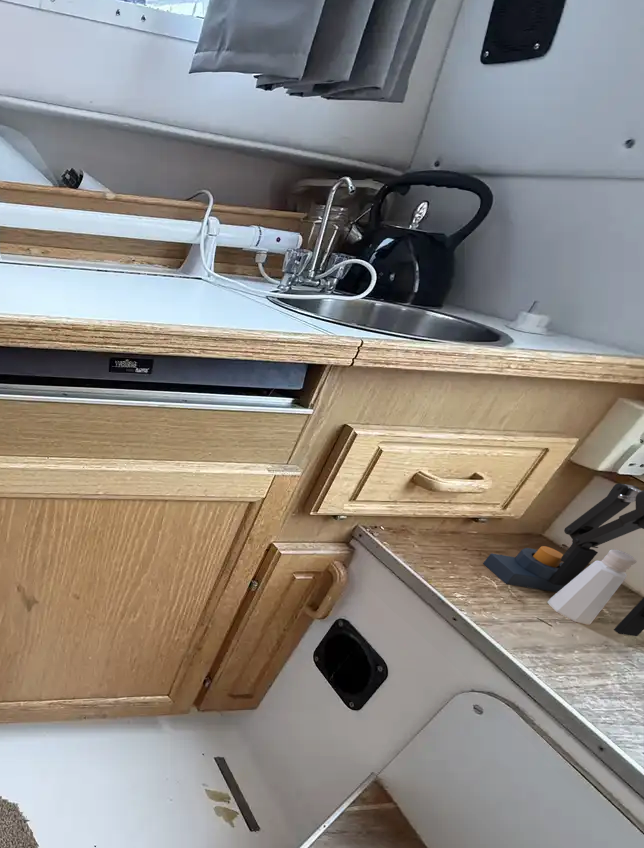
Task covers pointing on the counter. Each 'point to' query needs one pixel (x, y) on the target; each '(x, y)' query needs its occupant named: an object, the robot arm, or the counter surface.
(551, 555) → the orange button cap
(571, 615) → the salt shaker
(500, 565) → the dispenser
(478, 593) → the counter surface
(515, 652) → the counter surface
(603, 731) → the counter surface
